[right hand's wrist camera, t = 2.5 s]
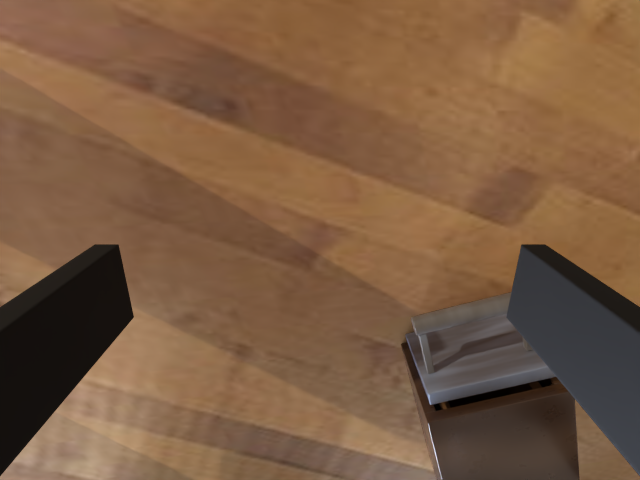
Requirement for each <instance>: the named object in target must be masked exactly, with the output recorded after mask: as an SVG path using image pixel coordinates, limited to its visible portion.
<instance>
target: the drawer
mask: <svg viewBox="0 0 640 480" xmlns="http://www.w3.org/2000/svg"><path fill="white" fill-rule="evenodd" d="M510 297H511V292H509V293H505V294H501V295H497V296H493V297H489V298H485V299H481V300H477V301H473V302H469V303H465V304H461V305H457V306H453V307H449V308H445V309H441V310H437V311H433V312H429V313H425V314H421V315H417V316H413V317H411V321H412V325H413V328H414V331H415V332H412V333H408V334H406V339H407V343H408V346H409V348H410V351H411V354H412V357H413V359H414V362H415V365H416V367H417V370H418V373H419V376H420V378H421V381H422V384H423V387H424V389H425V392H426V395H427V398H428V400H429V403H430V405H433V404H434V407H435V410H436V411H439V410H443V409H448V408H452V407H457V406H461V405H466V404H470V403H475V402H479V401H484V400H488V399H493V398H497V397H502V396H506V395H511V394H515V393H520V392H524V391H529V390H533V389H538V388H542V386H541V385H540V383H539V382H538V381H540V380H544V379H548V378H553V377H556V376H555V375H554V373H553V372H552V371H551V370H550V369H549V367H548V366H547V365H546V364H545V363H544V362H543V360H542V359H541V358H540V357H539V356H538V354H537V353H536V352H535V351H534V350H533V348H532V347H531V346H530V345H529V344H528V342H527V341H526V340H525V339H524V338H523V337H522V335H521V334H520V333H519V332H518V331H517V329H516V328H515V327H514V326H513V325H512V323H511V322H510V321H509V320H508V319H507V318H506V316H507V311H508V307H509V302H510Z"/></svg>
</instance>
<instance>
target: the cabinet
mask: <svg viewBox="0 0 640 480" xmlns="http://www.w3.org/2000/svg"><path fill="white" fill-rule="evenodd" d="M401 346H402V350H403V354H404V358H405V362H406V366H407V370H408V374H409V378H410V381H411V385H412V389H413V393H414V397H415V401H416V405H417V409H418V413H419V417H420V420H421V424H422V428H423V432H424V436H425V440H426V444H427V448H428V452H429V456H430V459H431V462H432V466H433V469H434V472H435V475H436V478H437V480H579V465H578V448H577V431H576V415H575V398H574V397H573V396H572V395H571V394H570V392H569V391H568V390H567V389H566V388H565V387H564V385H563V384H562V383H561V382H560V381H559V379H558V378H557V377H553V378H548V379H544V380H540V381H538V382H539V383H540V385H541V386H542V388H538V389H533V390H529V391H524V392H520V393H515V394H511V395H506V396H502V397H497V398H493V399H488V400H484V401H479V402H475V403H470V404H466V405H461V406H457V407H452V408H448V409H443V410H439V411H436V410H435V407H434V404H433V405H430V403H429V400H428V398H427V395H426V392H425V389H424V387H423V384H422V381H421V378H420V376H419V373H418V370H417V367H416V365H415V362H414V359H413V357H412V354H411V351H410V348H409V346H408V343H404V344H401Z"/></svg>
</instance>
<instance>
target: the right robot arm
mask: <svg viewBox="0 0 640 480" xmlns="http://www.w3.org/2000/svg"><path fill="white" fill-rule="evenodd" d="M133 318H134V316H133V311H132V307H131V302H130V297H129V292H128V288H127V283H126V278H125V273H124V269H123V264H122V259H121V254H120V250H119V245H94V246H92V247H91V248H89V249H88V250H86V251H85V252H83V253H82V254H80V255H78V256H77V257H75V258H74V259H72V260H71V261H69V262H68V263H66V264H65V265H63V266H62V267H60V268H59V269H57V270H56V271H54V272H53V273H51V274H50V275H48V276H47V277H45V278H44V279H42V280H41V281H39V282H38V283H36V284H35V285H33V286H32V287H30V288H29V289H27V290H26V291H24V292H23V293H21V294H20V295H18V296H17V297H15V298H14V299H12V300H11V301H9V302H7V303H6V304H4V305H3V306H1V307H0V476H1V475H2V473H3V472H4V471H5V470H6V469H7V467H8V466H9V465H10V464H11V463H12V461H13V460H14V459H15V458H16V457H17V456H18V454H19V453H20V452H21V451H22V450H23V448H24V447H25V446H26V445H27V444H28V442H29V441H30V440H31V439H32V438H33V436H34V435H35V434H36V433H37V432H38V431H39V429H40V428H41V427H42V426H43V425H44V423H45V422H46V421H47V420H48V419H49V417H50V416H51V415H52V414H53V413H54V411H55V410H56V409H57V408H58V407H59V406H60V404H61V403H62V402H63V401H64V400H65V398H66V397H67V396H68V395H69V394H70V392H71V391H72V390H73V389H74V388H75V387H76V385H77V384H78V383H79V382H80V381H81V379H82V378H83V377H84V376H85V375H86V373H87V372H88V371H89V370H90V369H91V367H92V366H93V365H94V364H95V363H96V362H97V360H98V359H99V358H100V357H101V356H102V354H103V353H104V352H105V351H106V350H107V348H108V347H109V346H110V345H111V344H112V342H113V341H114V340H115V339H116V338H117V337H118V335H119V334H120V333H121V332H122V331H123V329H124V328H125V327H126V326H127V325H128V323H129V322H130V321H131V320H132V319H133ZM506 318H507V319H508V320H509V321H510V322H511V323H512V325H513V326H514V327H515V328H516V329H517V331H518V332H519V333H520V334H521V335H522V337H523V338H524V339H525V340H526V341H527V342H528V344H529V345H530V346H531V347H532V348H533V350H534V351H535V352H536V353H537V354H538V356H539V357H540V358H541V359H542V360H543V362H544V363H545V364H546V365H547V366H548V367H549V369H550V370H551V371H552V372H553V373H554V375H555V376H556V377H557V378H558V379H559V381H560V382H561V383H562V384H563V385H564V387H565V388H566V389H567V390H568V391H569V392H570V394H571V395H572V396H573V397H574V398H575V400H576V401H577V402H578V403H579V404H580V406H581V407H582V408H583V409H584V410H585V411H586V413H587V414H588V415H589V416H590V417H591V419H592V420H593V421H594V422H595V423H596V425H597V426H598V427H599V428H600V429H601V431H602V432H603V433H604V434H605V435H606V436H607V438H608V439H609V440H610V441H611V442H612V444H613V445H614V446H615V447H616V448H617V450H618V451H619V452H620V453H621V454H622V456H623V457H624V458H625V459H626V460H627V461H628V463H629V464H630V465H631V466H632V467H633V469H634V470H635V471H636V472H637V473H638V475H639V476H640V307H639V306H637V305H636V304H634V303H633V302H631V301H629V300H628V299H626V298H625V297H623V296H622V295H620V294H619V293H617V292H616V291H614V290H613V289H611V288H610V287H608V286H607V285H605V284H604V283H602V282H601V281H599V280H598V279H596V278H595V277H593V276H592V275H590V274H589V273H587V272H586V271H584V270H583V269H581V268H580V267H578V266H577V265H575V264H574V263H572V262H571V261H569V260H568V259H566V258H565V257H563V256H562V255H560V254H558V253H557V252H555V251H554V250H552V249H551V248H549V247H548V246H546V245H521V250H520V254H519V259H518V264H517V269H516V273H515V278H514V283H513V288H512V292H511V297H510V302H509V307H508V311H507V316H506Z"/></svg>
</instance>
